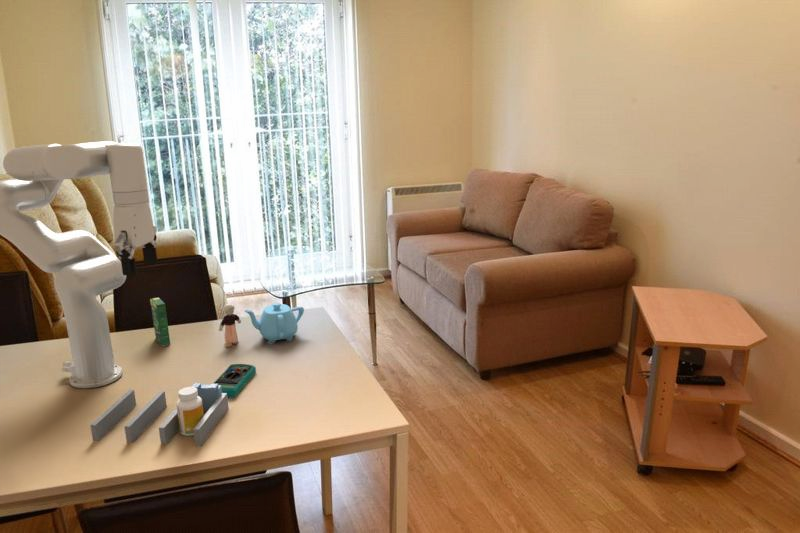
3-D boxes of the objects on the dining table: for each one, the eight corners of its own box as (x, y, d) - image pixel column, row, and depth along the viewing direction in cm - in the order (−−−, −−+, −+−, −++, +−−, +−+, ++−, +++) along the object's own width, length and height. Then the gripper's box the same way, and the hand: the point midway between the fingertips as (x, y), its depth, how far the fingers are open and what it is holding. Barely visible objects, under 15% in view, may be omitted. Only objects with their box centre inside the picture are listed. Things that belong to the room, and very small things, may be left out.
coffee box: (154, 338, 186) (149, 298, 182) (164, 336, 187) (159, 296, 184) (160, 346, 179) (155, 305, 176) (170, 344, 181) (165, 303, 177)
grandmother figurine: (229, 349, 177) (224, 308, 174) (218, 346, 179) (214, 306, 175) (246, 339, 184) (242, 300, 180) (236, 337, 185) (232, 298, 182)
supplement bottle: (210, 426, 136) (206, 387, 133) (193, 438, 131) (188, 398, 129) (192, 421, 138) (187, 383, 135) (174, 433, 133) (169, 393, 131)
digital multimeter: (257, 373, 163) (256, 363, 162) (235, 399, 149) (234, 389, 148) (231, 371, 164) (230, 361, 163) (207, 398, 150) (206, 387, 149)
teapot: (307, 335, 187) (306, 301, 185) (277, 350, 175) (276, 313, 173) (276, 329, 193) (274, 295, 191) (245, 343, 181) (242, 307, 179)
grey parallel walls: (93, 441, 131) (88, 413, 129) (131, 404, 146) (127, 379, 144) (200, 446, 128) (197, 417, 127) (228, 408, 144) (225, 382, 142)
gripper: (135, 191, 147) (144, 259, 152) (93, 204, 131) (105, 279, 136) (164, 191, 147) (172, 259, 151) (126, 204, 130) (137, 280, 135)
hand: (140, 269), depth 143 cm, fingers open, 9 cm apart
